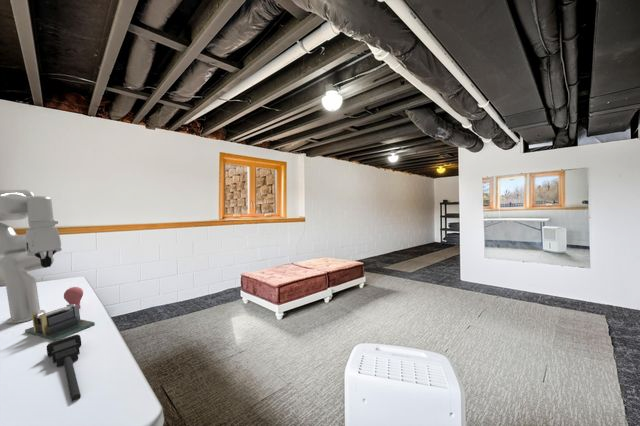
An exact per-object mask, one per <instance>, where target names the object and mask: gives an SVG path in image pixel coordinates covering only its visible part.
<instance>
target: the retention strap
mask: <svg viewBox="0 0 640 426" xmlns="http://www.w3.org/2000/svg"><path fill="white" fill-rule="evenodd" d="M68 305H69V304H68ZM72 306H75V305H74V304H70V305H69V306H64V307H61V309H60V308H57V309H58V310H57V309H55V311H54V310H50V311H48V312H45V314H46V317H47V316H50V315H53V314H56V313H59V312H62V311H65V310H68V309H71V308H73V307H72ZM37 318H40V319H41V317H40V315H39V316H37Z"/></svg>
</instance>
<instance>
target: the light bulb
mask: <svg viewBox="0 0 640 426" xmlns="http://www.w3.org/2000/svg"><path fill="white" fill-rule="evenodd" d="M83 295H84V291H83V289H82V288H81V287H78V286H72V287H69V288H67V289H66V290H65V292H64V293H63V298H64V301H66V302H67V304H68V305H69V304H74V305H79V310H80V309H81V300H82V297H83Z"/></svg>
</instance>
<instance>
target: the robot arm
mask: <svg viewBox="0 0 640 426" xmlns="http://www.w3.org/2000/svg"><path fill="white" fill-rule="evenodd" d="M26 218H27V222H28V228H29V229H26V230H25V234H17V232H16V231H15V229H14V228H13V227H12V226H10V225H8V224H6V223H3V222H4V221H6V222H9V221H18V220H19V221H20V220H24V219H26ZM58 224H59V221H58V220H55V218H54V212H53V201H52V199H51V197H50V196H47V195H46V196H43V195H42V196H41V195H35V194H34V192H32V191H30V190H28V189H0V256H3V257H1V258H0V271H1V272H2V275H3V279H4V282H5V290H6V296H7V301H8V308H9V309H8V310H9V315H10V317H9V318H7V319H6V320H5V323H6V325H10V324H11V325H13V324H18V323H20V324H21V323H24V322H27V321H33V319H32V313H34V312H37V313H38V314H37V316H38V315H41V314H44V313H46V310H44V309H41V307H40V306H41V305H40V300H39V293H38V292H39V291H38V285H37V280H36V278H35V277H34V276H33V275H31V274H29V273H28V272H32V271H35V270H36V271H37V270H40V269H46V268H51V267H52V265H54V260H55V259H54V258H55V257H54V255H55V254H56V253H59V252H61V251H62V250H63V249H62V248H61V247H62V240H61V236H60V232H59V229H58V228H57V226H56V225H58Z"/></svg>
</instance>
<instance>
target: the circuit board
mask: <svg viewBox="0 0 640 426" xmlns="http://www.w3.org/2000/svg"><path fill="white" fill-rule="evenodd" d="M69 305H70V304H69V303H68V304H66V306H65V307H67V306H69ZM72 307H73V308H71V309H68V310H65V311H62V312H59V313H56V314H53V315H50V316H47V317H46V314H45V313H46V312H45V313H44V314H41V315H40V317H41V319H40V318H37V314H38V313H37V312H34V313H32V326H31V327H28V328H26V329H24V332H25V333H26V334H29V335H33V336H37V337H40V338H43V339H48V340H50V341H53V342H54V341H57V340H60V339H64V338H67V337H70V336H72V335H75V334H76V333H78V332H81V331H84V330H86V329H88V328H90V327H93V326H95V325H96V324H95V322H94V321H90V320H85V319H82V318H81V313H80V309H79V305H75V306H72ZM61 308H62V307H61ZM61 308H60V307H59V308H57V309H55V310H58V309H61ZM55 310H53V311H55ZM38 316H39V315H38Z"/></svg>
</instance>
